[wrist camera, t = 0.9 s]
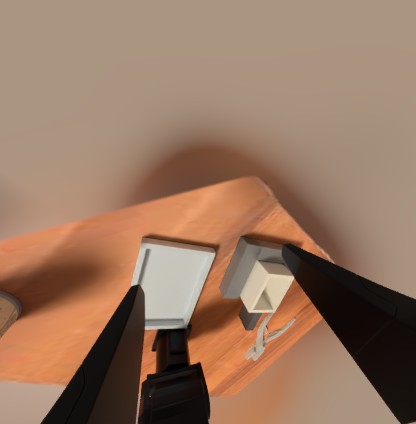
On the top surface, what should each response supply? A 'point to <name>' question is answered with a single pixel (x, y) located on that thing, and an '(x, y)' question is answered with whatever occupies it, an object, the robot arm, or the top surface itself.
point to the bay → (247, 264)
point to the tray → (171, 280)
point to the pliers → (259, 345)
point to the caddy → (263, 291)
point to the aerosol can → (8, 311)
